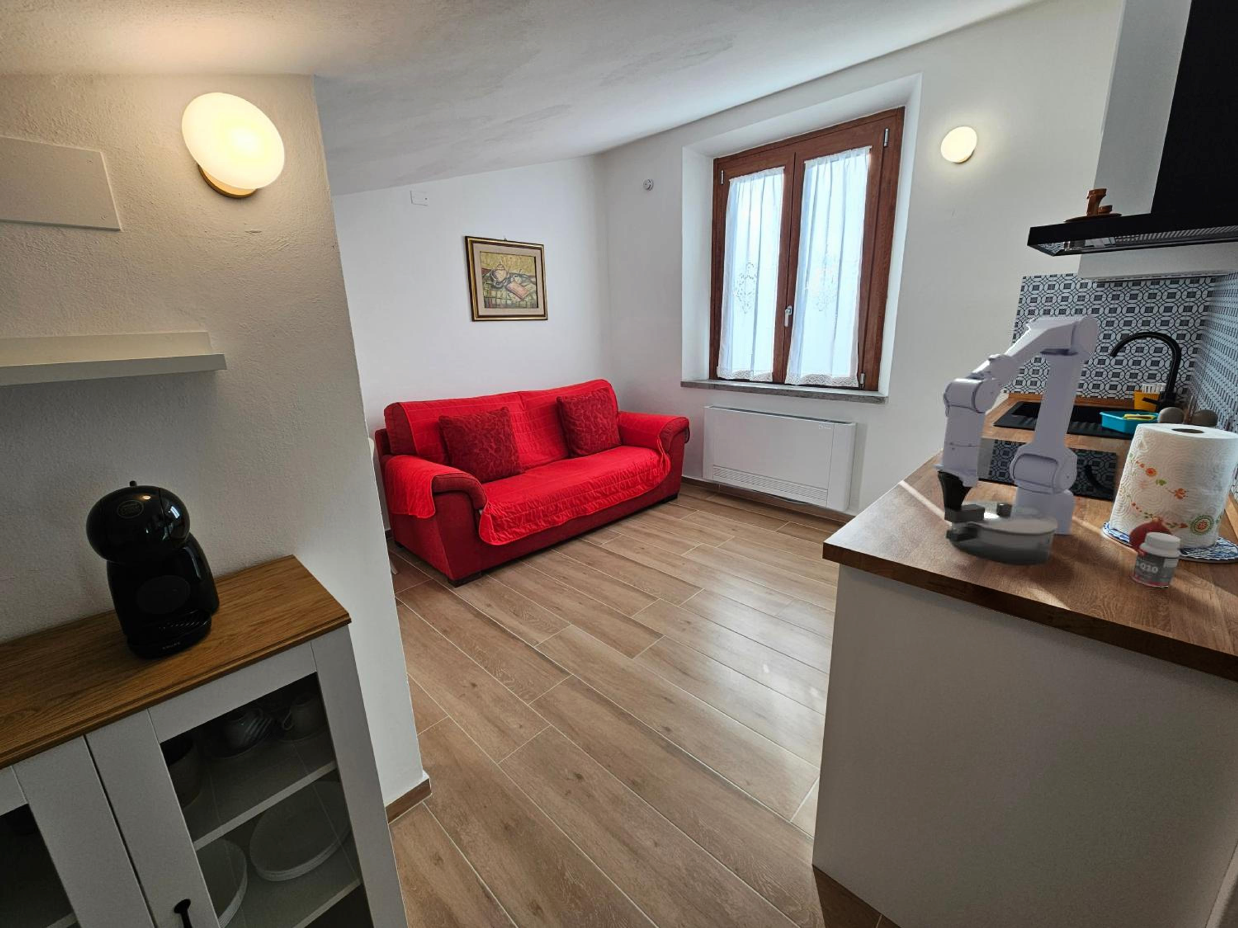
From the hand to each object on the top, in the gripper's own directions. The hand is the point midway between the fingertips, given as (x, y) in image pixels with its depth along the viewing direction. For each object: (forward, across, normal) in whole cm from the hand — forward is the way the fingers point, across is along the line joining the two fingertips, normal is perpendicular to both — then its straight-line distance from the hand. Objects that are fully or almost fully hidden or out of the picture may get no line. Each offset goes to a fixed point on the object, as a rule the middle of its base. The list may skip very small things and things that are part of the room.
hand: (951, 511), depth 101 cm
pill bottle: (+8, +8, +29) cm, 31 cm away
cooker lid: (+2, -2, +8) cm, 8 cm away
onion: (+8, -3, +34) cm, 35 cm away
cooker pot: (+8, -1, +8) cm, 11 cm away
